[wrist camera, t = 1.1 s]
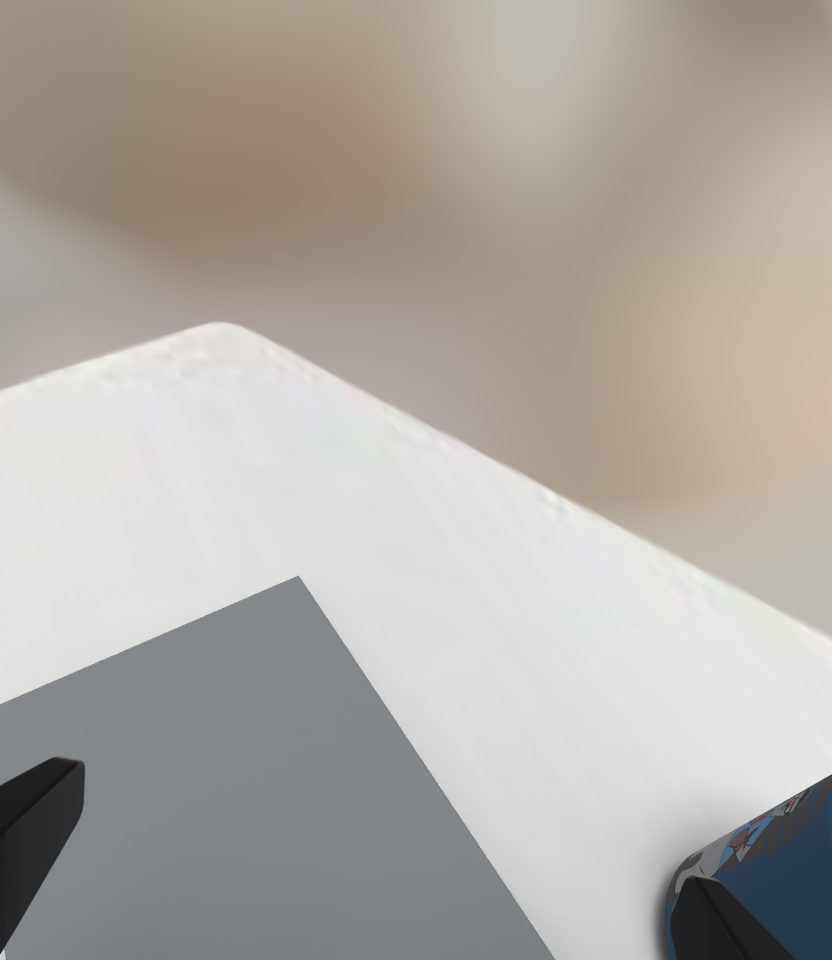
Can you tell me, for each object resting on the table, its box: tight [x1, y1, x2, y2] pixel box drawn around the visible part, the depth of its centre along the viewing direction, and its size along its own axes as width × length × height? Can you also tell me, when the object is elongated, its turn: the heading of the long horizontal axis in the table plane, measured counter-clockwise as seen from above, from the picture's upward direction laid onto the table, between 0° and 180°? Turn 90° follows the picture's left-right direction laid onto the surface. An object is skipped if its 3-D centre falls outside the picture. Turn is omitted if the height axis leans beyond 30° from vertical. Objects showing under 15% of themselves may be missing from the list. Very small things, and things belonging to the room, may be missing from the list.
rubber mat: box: [0, 576, 555, 960], centre depth 19 cm, size 20×14×1 cm
